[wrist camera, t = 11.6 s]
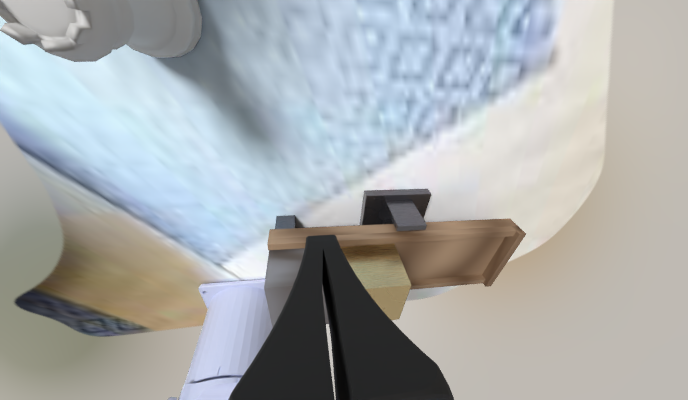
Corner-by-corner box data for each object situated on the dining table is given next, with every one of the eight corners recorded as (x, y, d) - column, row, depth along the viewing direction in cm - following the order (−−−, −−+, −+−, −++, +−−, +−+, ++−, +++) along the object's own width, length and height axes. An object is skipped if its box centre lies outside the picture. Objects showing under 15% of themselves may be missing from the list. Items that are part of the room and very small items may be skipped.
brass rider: (333, 282, 23) (338, 325, 19) (335, 247, 20) (341, 291, 17) (385, 278, 23) (399, 319, 20) (394, 243, 21) (411, 285, 17)
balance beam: (278, 285, 23) (274, 335, 20) (269, 229, 19) (262, 279, 16) (479, 269, 26) (508, 310, 23) (510, 218, 22) (551, 258, 19)
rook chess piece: (209, 63, 15) (141, 98, 8) (121, 47, 14) (-32, 73, 7) (199, -36, 12) (92, -95, 6) (91, -65, 11) (-179, -173, 5)
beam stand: (283, 269, 27) (280, 307, 23) (273, 193, 21) (268, 228, 17) (405, 260, 29) (419, 293, 25) (427, 188, 23) (450, 219, 19)
